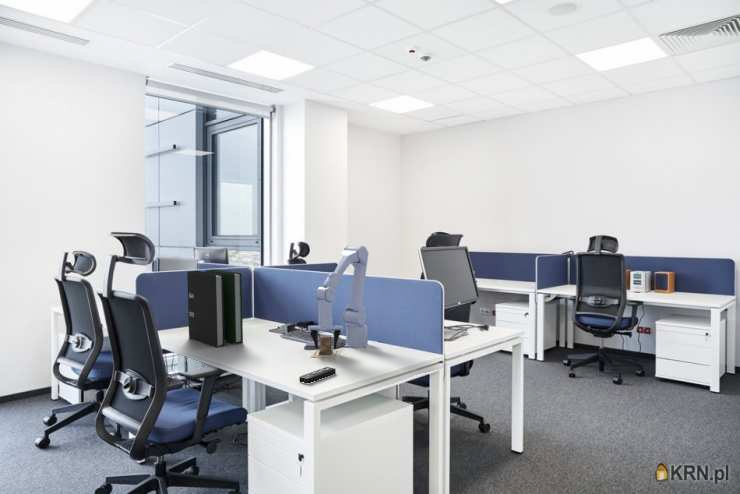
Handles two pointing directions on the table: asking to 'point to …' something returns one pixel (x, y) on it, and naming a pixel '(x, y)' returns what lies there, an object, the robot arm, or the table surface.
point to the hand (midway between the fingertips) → (325, 348)
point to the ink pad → (311, 346)
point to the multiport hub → (317, 375)
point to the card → (334, 354)
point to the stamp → (325, 345)
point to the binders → (215, 307)
